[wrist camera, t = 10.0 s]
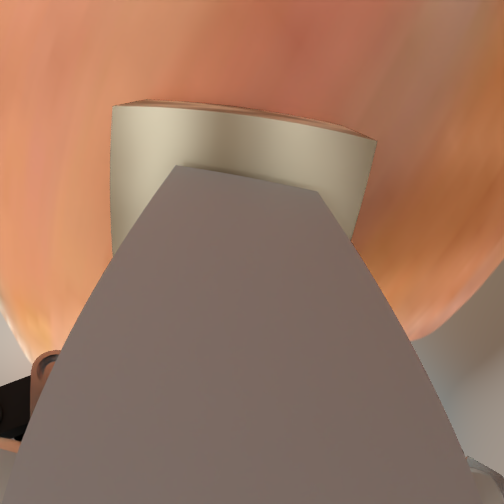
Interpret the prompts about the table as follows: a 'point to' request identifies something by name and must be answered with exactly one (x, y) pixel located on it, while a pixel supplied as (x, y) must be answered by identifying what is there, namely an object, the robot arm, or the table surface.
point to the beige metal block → (232, 154)
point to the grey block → (238, 368)
